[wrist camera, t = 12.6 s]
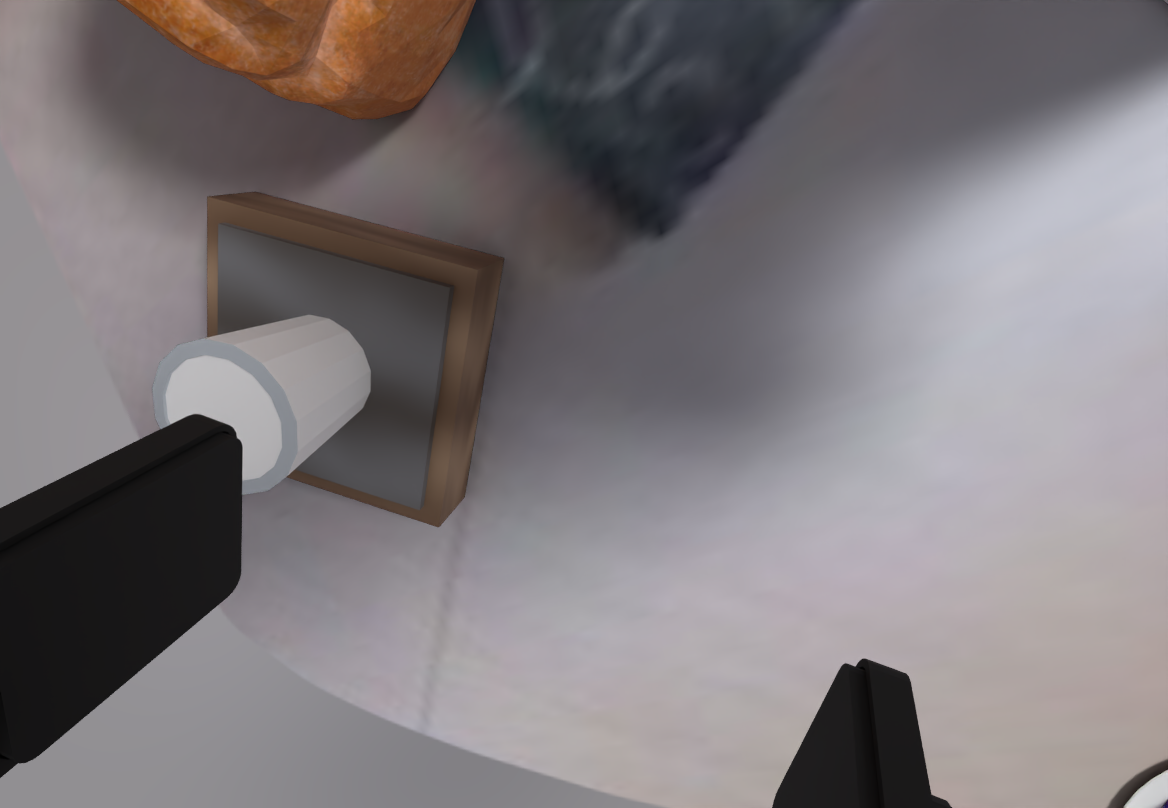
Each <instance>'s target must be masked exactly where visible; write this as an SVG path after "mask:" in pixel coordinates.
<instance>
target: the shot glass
mask: <svg viewBox="0 0 1168 808" xmlns="http://www.w3.org/2000/svg"><path fill="white" fill-rule="evenodd" d="M370 391H371V370H370V367H369V364H368V361H367V359H366V356H365V353H364V350H363V348H362V347H361V346H360V345H359V343H358V342H357V341H356V340H355V338H354V337H353V336H352V335H351V333H350V332H349V331H348V330H346V329H345V328H343V327H342V326H340V325H339V324H337V323H336V322H334V321H332V320H331V319H329V318H324V317H319V316H314V315H305V316H300V317H296V318H292V319H287V320H283V321H278V322H274V323H269V324H265V325H261V326H256V327H252V328H247V329H243V330H239V331H234V332H230V333H225V334H221V335H216V336H212V337H208V338H203V339H199V340H195V341H191V342H187V343H183V344H179V345H177V346H176V347H175V348H174V349H173V350H172V351H171V352H170V353H169V354H168V355H167V356H166V357H165V358H164V359H163V360H162V361H161V362H160V363H159V366H158V370H157V373H156V376H155V380H154V383H153V387H152V393H153V402H154V411H155V418H156V421H157V423H158V425H159V427H160V429H162V428H164V427H166V426H168V425H170V424H172V423H174V422H176V421H178V420H180V419H182V418H184V417H187V416H189V415H192V414H201V415H204V416H206V417H209V418H212V419H214V420H217V421H220V422H223V423H225V424H228V425H230V426H232V427H233V428H234V430H235V431H236V435H237V438H238V439H239V440H240V441H241V443H242V447H243V460H242V495H246V494H252V493H258V492H264V491H269V490H270V489H271V488H273V487H274V486H275V485H276V484H278V483H279V482H280V481H282V480H283V479H284V478H285V477H287V476H288V475H289V474H290V473H291V472H292V471H294V470H295V469H296V468H297V467H298V466H299V465H300V464H301V463H302V462H304V461H305V460H306V459H307V458H308V457H309V456H310V455H311V454H312V453H314V452H315V451H316V450H317V449H318V448H319V447H320V446H321V445H322V444H324V443H325V442H326V441H327V440H328V439H329V438H330V437H331V436H333V435H334V434H335V433H336V432H337V431H338V430H339V429H340V428H341V427H343V426H344V425H345V424H346V423H347V422H348V421H349V420H350V419H351V418H353V417H354V416H355V415H356V414H357V413H358V412H359V411H360V410H361V409H363V407H364V404H365V402H366V400H367V398H368V396H369V394H370Z"/></svg>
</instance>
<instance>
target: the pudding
mask: <svg viewBox="0 0 1168 808" xmlns="http://www.w3.org/2000/svg"><path fill="white" fill-rule="evenodd" d="M1166 801H1167V802H1166ZM1165 802H1166V803H1165ZM1164 803H1165V805H1164ZM1163 805H1164V807H1163V808H1168V770H1167V771H1165V772H1163V773H1161V774H1160V775H1158V776H1156V777H1154V778H1153V779H1151V780H1150V781H1148V782H1147V783H1146V784H1145V785H1144V786H1142V787H1141V788H1140V789H1139V790H1137V791H1136V792H1135V794H1134V795H1133V796H1132V797H1131V798H1130V800H1129V801H1128V802H1127V803H1126V804H1125V806H1124V808H1161V807H1162V806H1163Z"/></svg>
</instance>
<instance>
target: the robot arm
mask: <svg viewBox="0 0 1168 808" xmlns="http://www.w3.org/2000/svg"><path fill="white" fill-rule="evenodd" d="M1164 1H1165V2H1166V3H1167V4H1168V0H1164ZM242 460H243V447H242V443H241V441H240V440H239V439H238V438H237V435H236V431H235V430H234V428H233V427H232V426H230V425H228V424H225V423H223V422H220V421H217V420H214V419H212V418H209V417H206V416H204V415H201V414H192V415H189V416H187V417H184V418H182V419H180V420H178V421H176V422H174V423H172V424H170V425H168V426H166V427H164V428H162V429H160V430H158V431H156V432H154V433H152V434H150V435H148V436H146V437H144V438H142V439H140V440H138V441H136V442H134V443H132V444H130V445H128V446H126V447H124V448H122V449H120V450H118V451H115V452H114V453H111V454H109V455H108V456H105V457H103V458H102V459H99V460H97V461H95V462H93V463H91V464H89V465H87V466H85V467H83V468H81V469H79V470H77V471H75V472H73V473H71V474H69V475H67V476H65V477H63V478H61V479H59V480H57V481H55V482H53V483H51V484H49V485H47V486H44V487H43V488H40V489H38V490H37V491H34V492H32V493H30V494H28V495H26V496H24V497H22V498H20V499H18V500H16V501H14V502H12V503H10V504H8V505H6V506H4V507H2V508H0V778H1V777H2V776H3V775H4V774H6V773H7V772H8V771H9V770H10V769H12V768H13V767H14V766H15V765H16V764H18V763H26V762H28V761H30V760H33V759H34V758H36V757H37V756H39V755H40V754H41V753H42V752H43V751H45V750H46V749H47V748H48V747H50V746H51V745H52V744H53V743H54V742H55V741H57V740H58V739H59V738H60V737H62V736H63V735H64V734H65V733H66V732H67V731H69V730H70V729H71V728H72V727H73V726H75V725H76V724H77V723H78V722H79V721H80V720H81V719H83V718H84V717H85V716H87V715H88V714H89V713H90V712H91V711H92V710H94V709H95V708H96V707H97V706H98V705H100V704H101V703H102V702H103V701H104V700H105V699H107V698H108V697H109V696H110V695H112V694H113V693H114V692H115V691H116V690H117V689H119V688H120V687H121V686H122V685H123V684H125V683H126V682H127V681H128V680H129V679H131V678H132V677H133V676H134V675H135V674H137V673H138V671H140V670H141V669H142V668H144V667H145V666H146V665H147V664H148V663H150V662H151V661H152V660H153V659H154V658H156V657H157V656H158V655H159V654H160V653H162V652H163V650H165V649H166V648H167V647H169V646H170V645H171V644H172V643H173V642H175V641H176V640H177V639H178V638H179V637H181V636H182V635H183V634H184V633H185V632H187V631H188V630H189V629H190V628H191V627H192V626H194V625H195V624H196V623H197V622H198V621H200V620H201V619H202V618H203V617H204V616H206V615H207V614H208V613H209V612H210V611H211V610H213V609H214V608H215V607H216V606H217V605H219V604H220V603H221V602H222V601H223V600H225V599H226V598H227V597H228V596H229V595H230V594H231V593H232V592H233V591H234V589H235V588H236V586H237V584H238V582H239V579H240V576H241V540H242ZM772 808H952V807H951V806H950V805H949V803H948V802H947V801H946V800H943V799H941V798H938V797H936V796H933V795H931V790H930V785H929V780H928V774H927V769H926V763H925V758H924V752H923V747H922V741H921V736H920V730H919V725H918V719H917V714H916V709H915V703H914V698H913V692H912V687H911V682H910V679H909V676H908V675H907V674H906V673H903V672H900V671H898V670H895V669H892V668H889V667H887V666H884V665H881V664H879V663H876V662H873V661H870V660H868V659H861V660H860V661H859V662H858V664H857V665H856V667H855V666H852V665H849V664H847V663H846V664H843V665H842V666H841V668H840V670H839V671H838V673H837V675H836V677H835V679H834V681H833V683H832V685H831V687H830V689H829V691H828V693H827V695H826V697H825V699H824V701H823V703H822V705H821V707H820V709H819V711H818V712H817V714H816V716H815V718H814V720H813V722H812V724H811V726H810V728H809V730H808V732H807V734H806V736H805V738H804V740H803V742H802V744H801V746H800V748H799V750H798V752H797V754H796V756H795V757H794V759H793V761H792V763H791V765H790V767H789V769H788V771H787V773H786V775H785V777H784V779H783V781H782V783H781V785H780V787H779V789H778V791H777V793H776V796H775V799H774V803H773V807H772Z"/></svg>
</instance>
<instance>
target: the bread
mask: <svg viewBox="0 0 1168 808" xmlns="http://www.w3.org/2000/svg"><path fill="white" fill-rule="evenodd" d="M117 1H118V2H120V3H121V4H122V5H124V6H125V7H126V8H128V9H129V10H130V11H131V12H133V13H134V14H135V15H137V16H138V17H139V18H141V19H142V20H143V21H145V22H146V23H147V24H148V25H150V26H151V27H152V28H154V29H155V30H156V31H158V32H159V33H160V34H162V35H163V36H164V37H165V38H166V39H167V40H169V41H170V42H172V43H173V44H174V45H176V46H177V47H179V48H180V49H182V50H184V51H185V52H187V53H188V54H190V55H192V56H193V57H195V58H196V59H198V60H200V61H201V62H203V63H205V64H208V65H211V66H214V67H218V68H221V69H224V70H227V71H230V72H233V73H236V74H239V75H242V76H244V77H246V78H248V79H249V80H251V81H252V82H254V83H256V84H257V85H259V86H261V87H262V88H264V89H265V90H267V91H269V92H270V93H273V94H275V95H278V96H280V97H283V98H285V99H288V100H292V101H298V102H305V103H312V104H316V105H318V106H321V107H323V108H326V109H328V110H331V111H333V112H336V113H338V114H341V115H343V116H346V117H348V118H351V119H379V118H382V117H386V116H389V115H393V114H396V113H400V112H403V111H407V110H410V109H412V108H413V107H414V106H415V105H416V104H417V103H418V102H419V101H420V100H421V99H422V98H423V97H424V96H425V95H426V93H427V92H428V90H429V89H430V87H431V86H432V85H433V83H434V82H435V80H436V79H437V77H438V76H439V74H440V73H441V71H442V70H443V69H444V67H445V66H446V64H447V63H448V61H449V60H450V58H451V57H452V55H453V54H454V52H455V51H456V48H457V46H458V43H459V41H460V38H461V36H462V33H463V31H464V28H465V26H466V24H467V21H468V19H469V16H470V14H471V11H472V9H473V6H474V4H475V1H476V0H117Z"/></svg>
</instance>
